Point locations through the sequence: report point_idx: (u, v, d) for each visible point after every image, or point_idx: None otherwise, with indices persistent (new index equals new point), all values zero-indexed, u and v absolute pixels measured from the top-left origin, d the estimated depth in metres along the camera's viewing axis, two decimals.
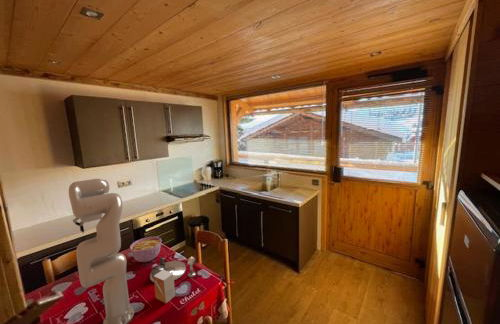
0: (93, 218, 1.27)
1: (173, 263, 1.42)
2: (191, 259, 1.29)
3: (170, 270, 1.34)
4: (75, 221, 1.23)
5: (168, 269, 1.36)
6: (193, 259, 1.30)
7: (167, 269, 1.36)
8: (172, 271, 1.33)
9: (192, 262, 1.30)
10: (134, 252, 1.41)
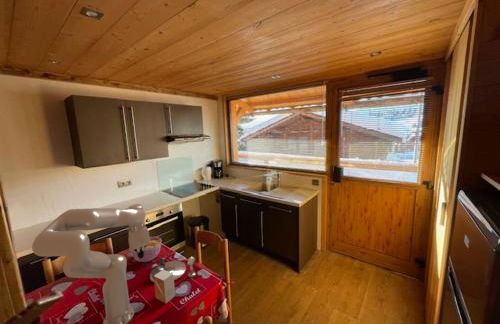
0: (142, 244, 1.20)
1: (173, 263, 1.42)
2: (191, 259, 1.29)
3: (170, 270, 1.34)
4: None
5: (168, 269, 1.36)
6: (193, 259, 1.30)
7: (167, 269, 1.36)
8: (172, 271, 1.33)
9: (192, 262, 1.30)
10: (134, 252, 1.41)
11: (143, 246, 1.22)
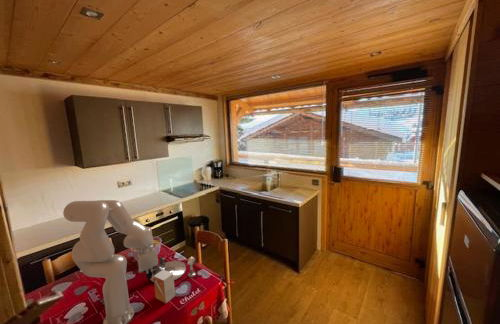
0: (151, 265, 1.24)
1: (173, 263, 1.42)
2: (191, 259, 1.29)
3: (170, 270, 1.34)
4: (141, 271, 1.22)
5: (168, 269, 1.36)
6: (193, 259, 1.30)
7: (167, 269, 1.36)
8: (172, 271, 1.33)
9: (192, 262, 1.30)
10: (134, 252, 1.41)
11: (152, 267, 1.26)
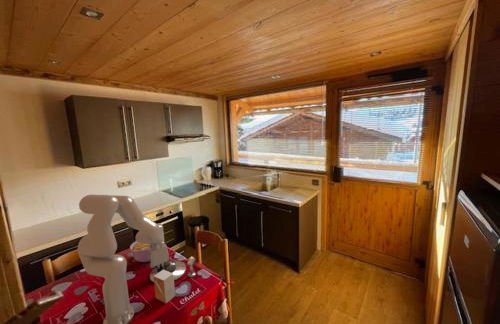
0: (162, 261, 1.28)
1: None
2: (191, 259, 1.29)
3: None
4: (153, 266, 1.27)
5: None
6: (193, 259, 1.30)
7: None
8: None
9: (192, 262, 1.30)
10: (134, 252, 1.41)
11: None
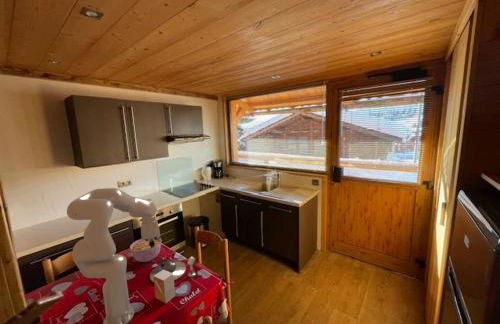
0: (151, 236, 1.32)
1: None
2: (191, 259, 1.29)
3: None
4: (143, 239, 1.33)
5: None
6: (193, 259, 1.30)
7: None
8: None
9: (192, 262, 1.30)
10: (134, 252, 1.41)
11: (153, 237, 1.34)
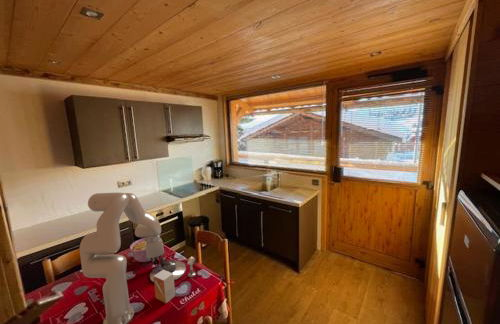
0: (156, 254, 1.36)
1: None
2: (191, 259, 1.29)
3: None
4: None
5: None
6: (193, 259, 1.30)
7: None
8: None
9: (192, 262, 1.30)
10: (134, 252, 1.41)
11: (158, 256, 1.37)
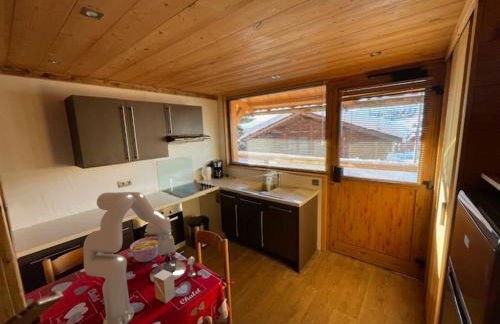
0: (167, 251, 1.38)
1: (180, 265, 1.39)
2: (191, 259, 1.29)
3: None
4: None
5: None
6: (193, 259, 1.30)
7: None
8: None
9: (192, 262, 1.30)
10: (134, 252, 1.41)
11: (169, 253, 1.40)
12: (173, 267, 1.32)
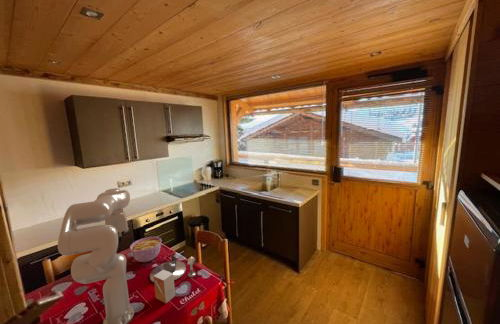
0: (117, 230, 1.16)
1: (180, 266, 1.39)
2: (191, 259, 1.29)
3: None
4: None
5: None
6: (193, 259, 1.30)
7: None
8: None
9: (192, 262, 1.30)
10: (134, 252, 1.41)
11: (120, 232, 1.18)
12: (173, 267, 1.32)
